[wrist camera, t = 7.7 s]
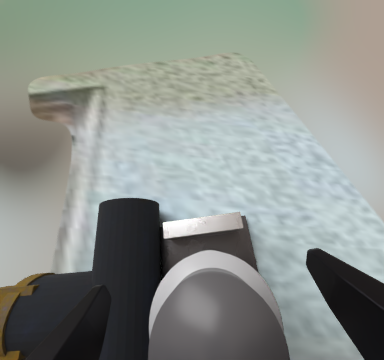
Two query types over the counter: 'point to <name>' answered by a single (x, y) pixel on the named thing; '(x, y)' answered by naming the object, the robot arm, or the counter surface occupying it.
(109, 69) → the counter surface
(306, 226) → the counter surface
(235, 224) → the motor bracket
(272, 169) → the counter surface
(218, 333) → the grey domed cylinder
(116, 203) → the pipe connector
